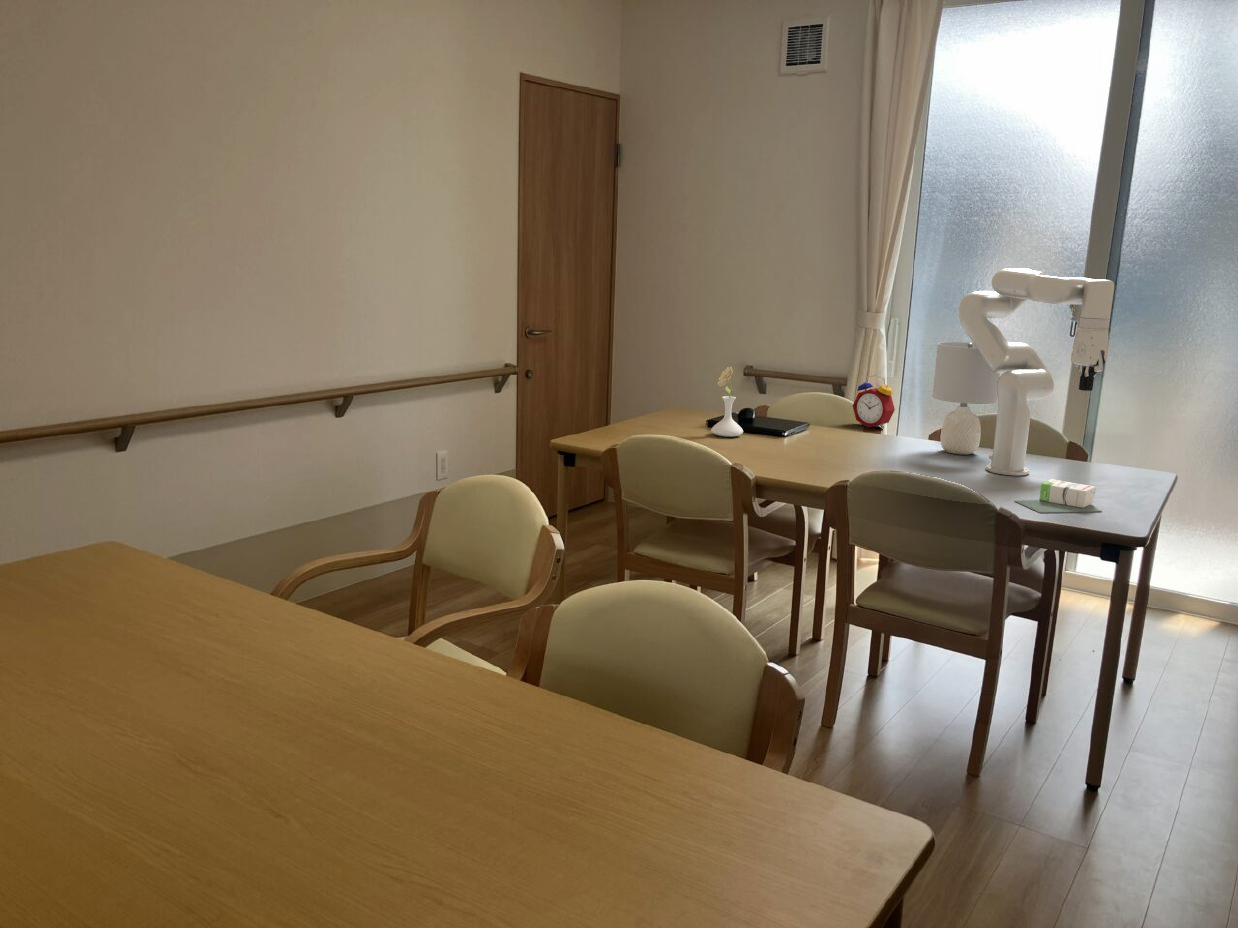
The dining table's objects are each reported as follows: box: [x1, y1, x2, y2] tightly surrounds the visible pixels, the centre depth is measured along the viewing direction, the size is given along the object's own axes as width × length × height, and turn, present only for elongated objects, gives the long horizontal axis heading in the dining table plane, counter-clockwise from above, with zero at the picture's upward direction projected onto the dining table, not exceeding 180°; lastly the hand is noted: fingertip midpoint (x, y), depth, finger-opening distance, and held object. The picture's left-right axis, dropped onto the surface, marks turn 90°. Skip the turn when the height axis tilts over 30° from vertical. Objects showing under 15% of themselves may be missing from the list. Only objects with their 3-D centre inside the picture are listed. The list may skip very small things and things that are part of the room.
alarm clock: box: [852, 374, 896, 430], centre depth 377 cm, size 15×9×20 cm, turn 43°
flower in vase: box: [710, 366, 744, 437], centre depth 349 cm, size 13×11×25 cm
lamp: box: [932, 341, 1001, 456], centre depth 331 cm, size 20×20×37 cm
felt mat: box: [1013, 499, 1103, 514], centre depth 267 cm, size 12×18×1 cm, turn 100°
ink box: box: [1038, 478, 1097, 508], centre depth 270 cm, size 9×5×12 cm
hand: (1085, 390), depth 280 cm, fingers closed
